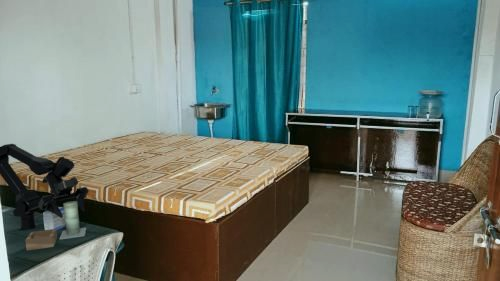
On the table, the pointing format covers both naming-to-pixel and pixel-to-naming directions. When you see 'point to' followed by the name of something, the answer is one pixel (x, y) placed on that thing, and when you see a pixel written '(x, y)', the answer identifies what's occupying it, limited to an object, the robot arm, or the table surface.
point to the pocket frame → (41, 239)
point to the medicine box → (54, 220)
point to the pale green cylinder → (71, 217)
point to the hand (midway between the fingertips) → (73, 214)
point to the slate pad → (81, 233)
